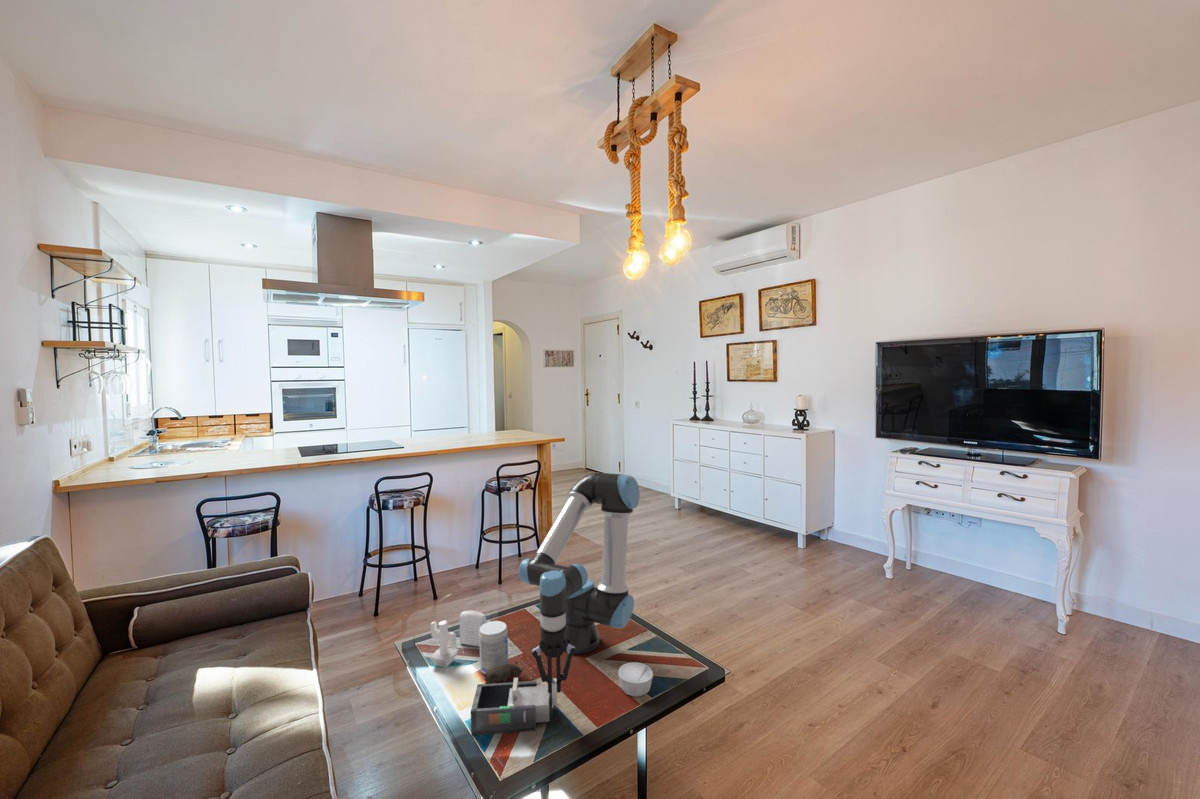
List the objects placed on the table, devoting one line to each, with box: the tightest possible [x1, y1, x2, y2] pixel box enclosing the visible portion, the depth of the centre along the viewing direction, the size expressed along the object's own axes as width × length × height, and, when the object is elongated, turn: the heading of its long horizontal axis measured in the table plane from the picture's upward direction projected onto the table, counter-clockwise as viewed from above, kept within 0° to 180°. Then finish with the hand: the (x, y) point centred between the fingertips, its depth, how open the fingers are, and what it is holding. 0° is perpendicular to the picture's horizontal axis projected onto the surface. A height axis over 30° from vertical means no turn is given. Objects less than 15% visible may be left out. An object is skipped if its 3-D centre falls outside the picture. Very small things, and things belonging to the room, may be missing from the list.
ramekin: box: [617, 661, 654, 697], centre depth 159 cm, size 11×11×5 cm
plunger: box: [507, 677, 553, 723], centre depth 146 cm, size 13×9×9 cm
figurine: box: [428, 619, 460, 669], centre depth 173 cm, size 7×9×15 cm
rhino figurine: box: [484, 661, 525, 684], centre depth 162 cm, size 4×14×6 cm, turn 117°
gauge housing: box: [470, 680, 538, 736], centre depth 145 cm, size 18×12×7 cm
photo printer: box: [459, 610, 487, 647], centre depth 185 cm, size 10×4×12 cm, turn 76°
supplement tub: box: [478, 620, 509, 675], centre depth 169 cm, size 10×10×15 cm
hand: (554, 702), depth 146 cm, fingers closed
